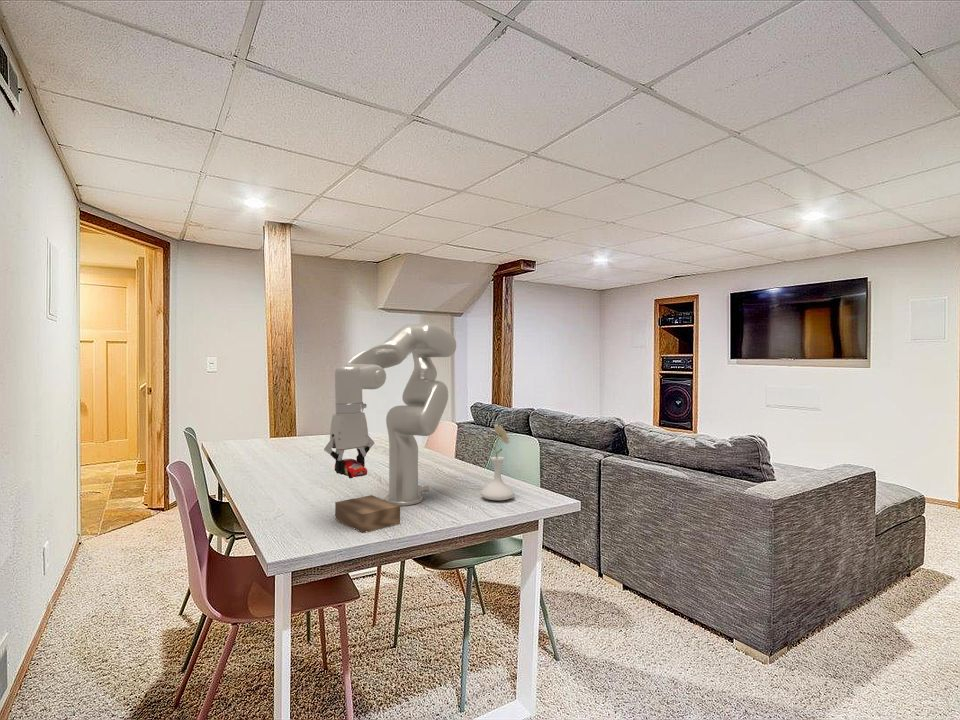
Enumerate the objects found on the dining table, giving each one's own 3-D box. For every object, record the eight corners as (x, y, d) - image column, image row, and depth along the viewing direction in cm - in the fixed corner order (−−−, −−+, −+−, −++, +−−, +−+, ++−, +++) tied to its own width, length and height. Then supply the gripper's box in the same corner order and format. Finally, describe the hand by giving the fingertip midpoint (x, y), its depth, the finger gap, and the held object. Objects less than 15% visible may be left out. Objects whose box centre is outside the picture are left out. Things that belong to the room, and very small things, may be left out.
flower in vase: (515, 503, 167) (515, 427, 167) (480, 503, 167) (481, 426, 167) (512, 493, 180) (513, 422, 180) (480, 493, 180) (480, 422, 180)
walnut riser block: (371, 511, 157) (371, 495, 157) (400, 523, 145) (400, 506, 145) (335, 519, 149) (335, 502, 149) (362, 532, 137) (362, 514, 137)
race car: (370, 477, 143) (370, 463, 143) (352, 480, 139) (352, 466, 139) (349, 468, 153) (349, 455, 153) (332, 471, 150) (332, 458, 149)
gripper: (369, 405, 154) (371, 464, 155) (314, 410, 143) (316, 474, 144) (382, 407, 148) (383, 469, 149) (325, 413, 137) (327, 479, 138)
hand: (350, 471), depth 146 cm, fingers closed on race car, 5 cm apart
